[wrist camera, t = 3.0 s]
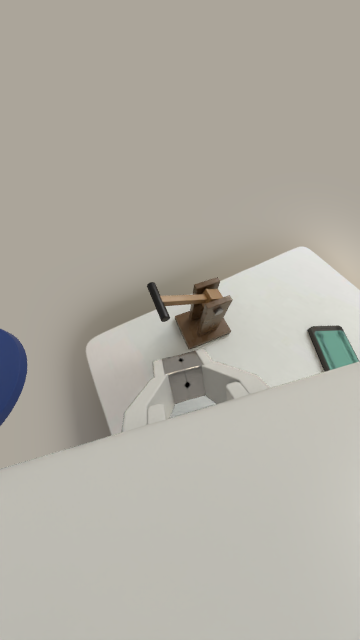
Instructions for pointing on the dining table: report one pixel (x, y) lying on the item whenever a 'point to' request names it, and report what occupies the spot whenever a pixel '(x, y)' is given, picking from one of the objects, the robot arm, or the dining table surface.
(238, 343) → the dining table surface
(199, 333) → the switch bracket
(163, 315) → the switch lever
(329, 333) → the smartphone
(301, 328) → the dining table surface
